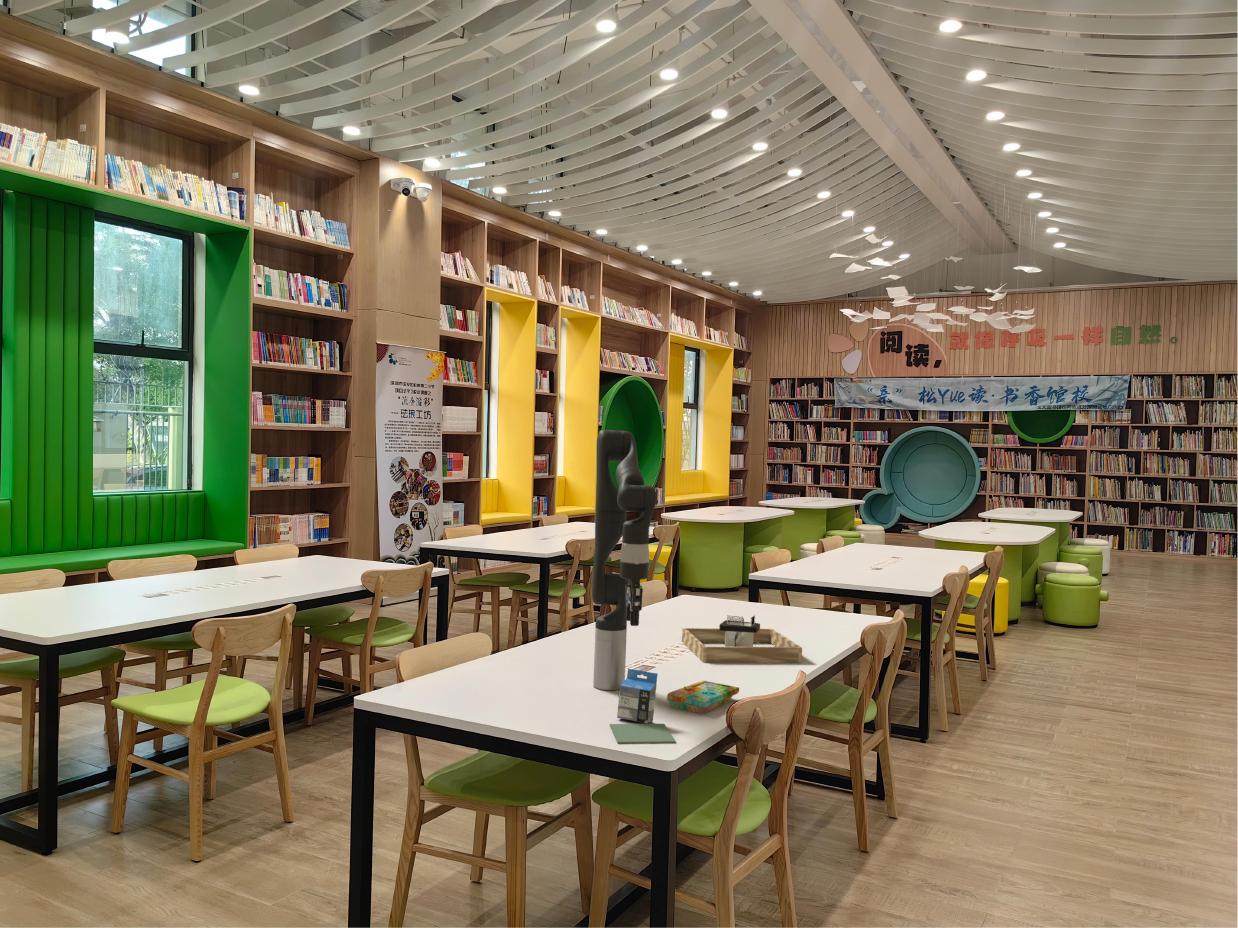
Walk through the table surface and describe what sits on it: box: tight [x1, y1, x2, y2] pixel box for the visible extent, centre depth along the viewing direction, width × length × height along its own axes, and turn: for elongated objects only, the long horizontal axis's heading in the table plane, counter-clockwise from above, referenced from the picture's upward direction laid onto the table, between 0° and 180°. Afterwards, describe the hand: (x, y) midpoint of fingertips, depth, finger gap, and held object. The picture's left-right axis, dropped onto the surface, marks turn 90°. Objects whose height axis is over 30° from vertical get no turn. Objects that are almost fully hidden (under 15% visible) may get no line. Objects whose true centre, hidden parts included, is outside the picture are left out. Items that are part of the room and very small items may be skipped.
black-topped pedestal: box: [718, 614, 761, 647], centre depth 319 cm, size 28×26×13 cm
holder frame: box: [681, 627, 803, 663], centre depth 318 cm, size 32×34×5 cm
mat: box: [609, 723, 677, 745], centre depth 220 cm, size 14×14×1 cm
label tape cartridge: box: [616, 668, 658, 724], centre depth 231 cm, size 9×4×12 cm, turn 62°
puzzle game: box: [666, 680, 740, 715], centre depth 250 cm, size 12×5×20 cm
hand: (632, 622), depth 239 cm, fingers open, 6 cm apart
